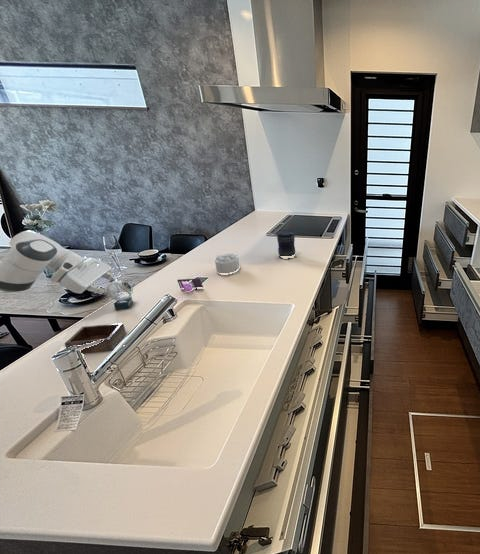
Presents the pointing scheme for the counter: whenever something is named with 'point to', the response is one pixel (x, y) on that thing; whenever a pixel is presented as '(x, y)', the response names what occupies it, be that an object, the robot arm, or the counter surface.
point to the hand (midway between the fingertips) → (110, 287)
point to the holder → (98, 337)
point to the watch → (121, 301)
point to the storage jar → (286, 242)
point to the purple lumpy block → (188, 287)
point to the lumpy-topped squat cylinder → (227, 264)
